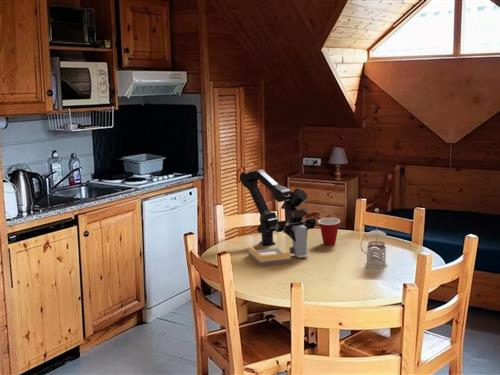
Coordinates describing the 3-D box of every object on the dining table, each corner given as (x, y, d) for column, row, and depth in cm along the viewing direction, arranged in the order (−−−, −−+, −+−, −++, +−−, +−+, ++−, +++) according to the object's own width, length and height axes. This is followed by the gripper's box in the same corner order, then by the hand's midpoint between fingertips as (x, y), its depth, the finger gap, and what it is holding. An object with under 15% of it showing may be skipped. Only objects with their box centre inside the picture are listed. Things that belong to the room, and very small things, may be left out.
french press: (388, 268, 249) (389, 211, 245) (360, 267, 252) (360, 210, 247) (387, 261, 259) (388, 206, 254) (360, 261, 261) (360, 205, 257)
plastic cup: (314, 245, 288) (314, 221, 286) (322, 240, 297) (322, 216, 295) (335, 247, 283) (335, 223, 281) (343, 242, 292) (343, 218, 290)
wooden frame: (248, 255, 274) (248, 246, 273) (277, 252, 278) (277, 242, 277) (260, 266, 257) (260, 256, 256) (290, 262, 261) (290, 253, 260)
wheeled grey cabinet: (289, 252, 273) (289, 225, 271) (304, 251, 275) (304, 224, 273) (295, 257, 265) (295, 229, 263) (311, 256, 267) (311, 228, 265)
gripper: (276, 204, 268) (285, 233, 259) (314, 200, 273) (324, 229, 264) (271, 217, 276) (279, 246, 268) (308, 213, 282) (317, 242, 273)
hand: (300, 240), depth 268 cm, fingers closed on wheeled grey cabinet, 5 cm apart
